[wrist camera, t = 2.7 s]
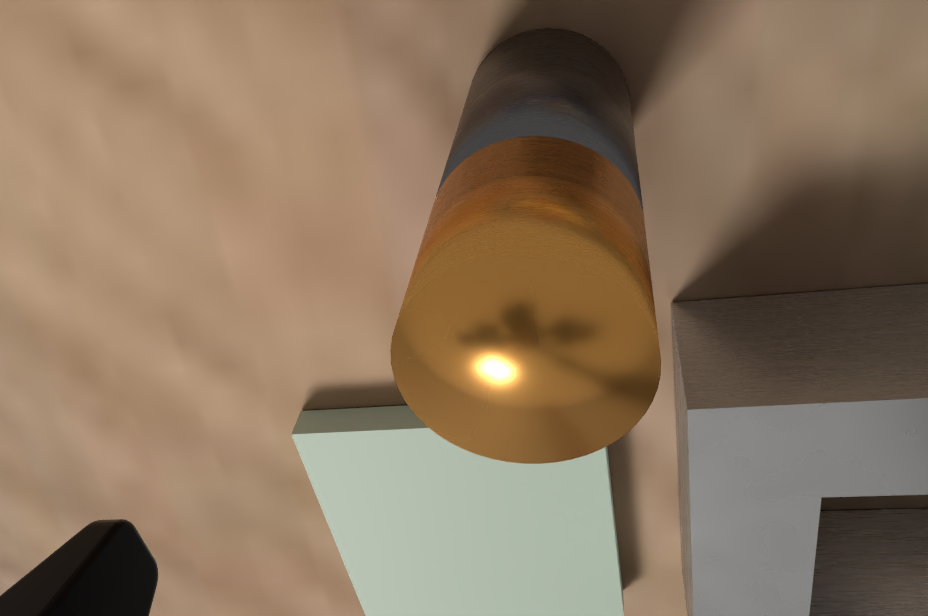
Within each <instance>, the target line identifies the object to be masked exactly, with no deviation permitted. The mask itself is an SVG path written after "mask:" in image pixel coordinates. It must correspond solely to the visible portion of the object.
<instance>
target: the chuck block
mask: <svg viewBox="0 0 928 616" xmlns="http://www.w3.org/2000/svg"><path fill="white" fill-rule="evenodd" d="M671 307H672V332H673V356H674V380H675V405H676V429H677V453H678V477H679V502H680V526H681V550H682V574H683V582H684V591H685V600H686V608H687V616H928V509H893V510H851V511H820V507H821V497H857V496H894V495H928V283H927V284H913V285H900V286H886V287H873V288H860V289H846V290H833V291H819V292H806V293H793V294H779V295H766V296H752V297H739V298H725V299H712V300H699V301H685V302H672V303H671Z"/></svg>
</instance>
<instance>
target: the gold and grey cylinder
mask: <svg viewBox="0 0 928 616" xmlns="http://www.w3.org/2000/svg"><path fill="white" fill-rule="evenodd" d="M391 365H392V370H393V375H394V378H395V381H396V384H397V386H398V389H399V391H400V393H401V395H402V396H403V398H404V400H405V402H406V403H407V405H408V406H409V407H410V409H411V410H412V411H413V413H414V414H415V415H416V416H417V417H418V418H419V419H420V420H421V421H422V422H423V423H424V424H425V425H426V426H427V427H429V428H430V429H431V430H432V431H433V432H435V433H436V434H438V435H439V436H441V437H442V438H444V439H445V440H447V441H448V442H450V443H452V444H454V445H456V446H458V447H460V448H462V449H464V450H467V451H469V452H472V453H474V454H477V455H480V456H484V457H487V458H490V459H495V460H500V461H505V462H513V463H522V464H543V463H555V462H561V461H566V460H572V459H575V458H579V457H582V456H586V455H588V454H591V453H593V452H596V451H598V450H601V449H603V448H604V447H606V446H608V445H610V444H612V443H614V442H615V441H617V440H618V439H619V438H621V437H622V436H624V435H625V434H626V433H627V432H629V431H630V430H631V429H632V428H633V427H634V426H635V425H636V424H637V423H638V422H639V421H640V419H641V418H642V417H643V416H644V414H645V413H646V412H647V410H648V408H649V406H650V405H651V403H652V401H653V399H654V396H655V394H656V391H657V389H658V385H659V380H660V375H661V357H660V348H659V340H658V332H657V323H656V315H655V306H654V298H653V290H652V281H651V273H650V264H649V256H648V248H647V239H646V231H645V223H644V214H643V206H642V197H641V189H640V181H639V172H638V164H637V155H636V147H635V139H634V130H633V122H632V113H631V105H630V97H629V90H628V86H627V83H626V79H625V77H624V75H623V73H622V70H621V69H620V67H619V65H618V64H617V62H616V61H615V60H614V58H613V57H612V56H611V55H610V54H609V53H608V52H607V51H606V50H605V49H604V48H603V47H602V46H601V45H599V44H598V43H596V42H595V41H593V40H592V39H590V38H588V37H586V36H583V35H581V34H578V33H575V32H572V31H568V30H563V29H551V28H548V29H537V30H532V31H527V32H524V33H521V34H519V35H516V36H514V37H512V38H510V39H508V40H506V41H505V42H503V43H502V44H500V45H499V46H497V47H496V48H495V49H494V50H493V51H492V52H491V53H490V54H489V55H488V56H487V57H486V58H485V60H484V61H483V62H482V64H481V65H480V67H479V68H478V70H477V72H476V74H475V76H474V78H473V80H472V84H471V87H470V90H469V93H468V96H467V99H466V103H465V106H464V109H463V112H462V115H461V119H460V122H459V125H458V128H457V131H456V135H455V138H454V141H453V144H452V147H451V151H450V154H449V157H448V160H447V163H446V166H445V170H444V173H443V176H442V179H441V182H440V186H439V189H438V192H437V195H436V198H435V202H434V205H433V208H432V211H431V214H430V218H429V221H428V224H427V227H426V230H425V234H424V237H423V240H422V243H421V246H420V249H419V253H418V256H417V259H416V262H415V265H414V269H413V272H412V275H411V278H410V281H409V285H408V288H407V291H406V294H405V297H404V301H403V304H402V307H401V310H400V313H399V316H398V320H397V323H396V326H395V329H394V333H393V336H392V343H391Z"/></svg>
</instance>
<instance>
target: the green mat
mask: <svg viewBox="0 0 928 616" xmlns="http://www.w3.org/2000/svg"><path fill="white" fill-rule="evenodd" d="M291 435H292V437H293V440H294V442H295V445H296V447H297V450H298V452H299V454H300V457H301V459H302V462H303V464H304V467H305V469H306V472H307V474H308V476H309V479H310V481H311V484H312V486H313V489H314V491H315V494H316V496H317V498H318V501H319V503H320V506H321V508H322V511H323V513H324V516H325V518H326V520H327V523H328V525H329V528H330V530H331V533H332V535H333V537H334V540H335V542H336V545H337V547H338V550H339V552H340V555H341V557H342V559H343V562H344V564H345V567H346V569H347V572H348V574H349V577H350V579H351V581H352V584H353V586H354V589H355V591H356V594H357V596H358V598H359V601H360V603H361V606H362V608H363V611H364V613H365V616H624V603H623V587H622V578H621V569H620V560H619V550H618V541H617V532H616V523H615V514H614V505H613V495H612V486H611V477H610V468H609V459H608V449H607V446H606V447H604V448H603V449H601V450H598V451H596V452H593V453H591V454H588V455H586V456H582V457H579V458H575V459H572V460H566V461H561V462H555V463H543V464H522V463H513V462H505V461H500V460H495V459H490V458H487V457H484V456H480V455H477V454H474V453H472V452H469V451H467V450H464V449H462V448H460V447H458V446H456V445H454V444H452V443H450V442H448V441H447V440H445V439H444V438H442V437H441V436H439V435H438V434H436V433H435V432H433V431H432V430H431V429H430V428H429V427H427V426H426V425H425V424H424V423H423V422H422V421H421V420H420V419H419V418H418V417H417V416H416V415H415V414H414V413H413V411H412V410H411V409H410V407H409V406H408V405H405V406H386V407H367V408H349V409H330V410H311V411H301V412H300V414H299V417H298V419H297V422H296V424H295V427H294V429H293V431H292V434H291Z"/></svg>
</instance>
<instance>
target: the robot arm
mask: <svg viewBox="0 0 928 616" xmlns="http://www.w3.org/2000/svg"><path fill="white" fill-rule="evenodd" d="M157 581H158V568H157V564H156V561H155V559H154V557H153V556H152V554H151V553H150V551H149V549H148V548H147V546H146V544H145V543H144V541H143V540H142V538H141V536H140V535H139V533H138V531H137V530H136V528H135V527H134V525H133V524H132V523H131V522H129V521H127V520H123V519H119V520H98V521H94V522H92V523H90V524H89V525H87V526H86V527H85V528H83V529H82V530H81V531H80V532H78V533H77V534H76V535H75V536H73V537H72V538H71V539H70V540H69V541H67V542H66V543H65V544H64V545H62V546H61V547H60V548H59V549H57V550H56V551H55V552H54V553H53V554H51V555H50V556H49V557H48V558H46V559H45V560H44V561H43V562H41V563H40V564H39V565H38V566H36V567H35V568H34V569H33V570H32V571H30V572H29V573H28V574H27V575H25V576H24V577H23V578H22V579H20V580H19V581H18V582H17V583H16V584H14V585H13V586H12V587H11V588H9V589H8V590H7V591H6V592H4V593H3V594H2V595H1V596H0V616H149V613H150V609H151V605H152V601H153V598H154V594H155V590H156V586H157Z"/></svg>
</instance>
